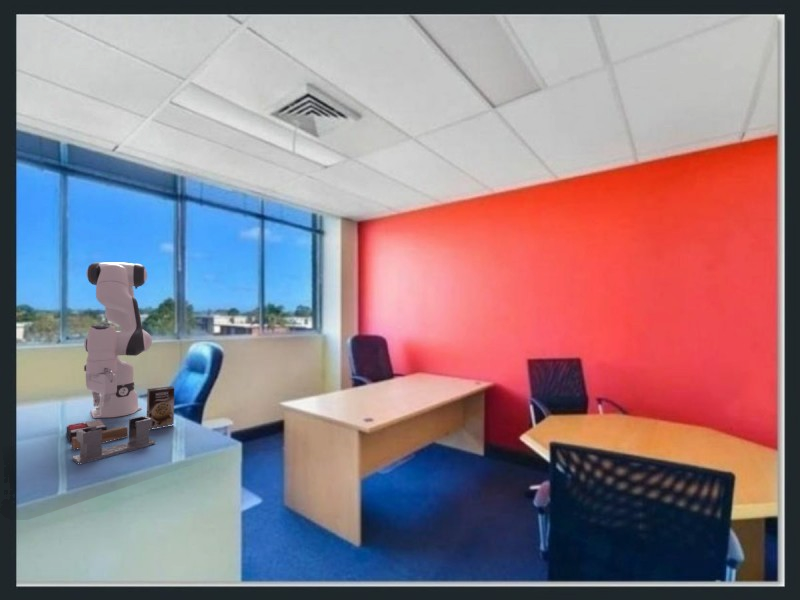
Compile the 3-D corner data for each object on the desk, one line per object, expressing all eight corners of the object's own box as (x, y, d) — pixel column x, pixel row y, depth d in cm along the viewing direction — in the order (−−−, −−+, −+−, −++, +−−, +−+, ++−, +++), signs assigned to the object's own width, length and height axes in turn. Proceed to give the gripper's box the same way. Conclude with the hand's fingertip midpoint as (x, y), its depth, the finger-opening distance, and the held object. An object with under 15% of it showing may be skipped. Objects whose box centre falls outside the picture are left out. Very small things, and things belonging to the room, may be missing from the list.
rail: (71, 448, 134) (71, 437, 134) (124, 436, 147) (124, 426, 147) (74, 450, 132) (74, 439, 132) (127, 437, 145) (127, 427, 145)
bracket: (72, 459, 124) (72, 430, 124) (147, 440, 142) (147, 414, 142) (78, 464, 120) (79, 434, 120) (155, 444, 138) (155, 418, 138)
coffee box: (148, 430, 152) (149, 391, 153) (146, 427, 157) (146, 388, 157) (174, 426, 158) (174, 388, 159) (171, 422, 163) (171, 385, 164)
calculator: (101, 418, 158) (107, 424, 147) (101, 429, 157) (107, 436, 147) (66, 424, 150) (70, 431, 139) (66, 435, 150) (69, 443, 139)
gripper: (122, 368, 136) (121, 406, 136) (102, 363, 148) (102, 399, 148) (101, 370, 131) (100, 410, 131) (82, 365, 143) (81, 402, 143)
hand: (101, 404), depth 140 cm, fingers open, 8 cm apart
